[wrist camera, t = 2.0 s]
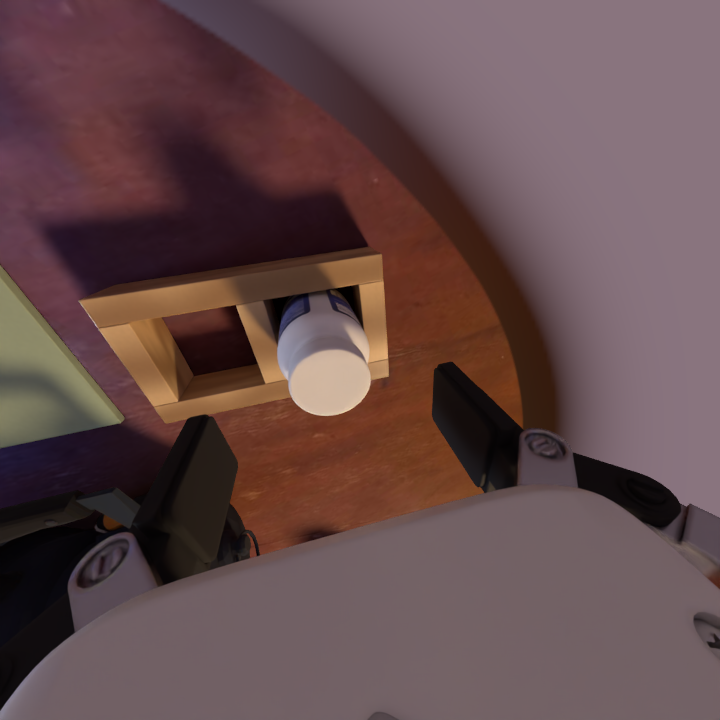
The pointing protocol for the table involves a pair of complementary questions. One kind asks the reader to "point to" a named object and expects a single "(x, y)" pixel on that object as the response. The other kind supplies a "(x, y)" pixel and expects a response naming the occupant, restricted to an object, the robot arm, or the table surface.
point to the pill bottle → (323, 353)
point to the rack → (256, 309)
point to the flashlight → (72, 548)
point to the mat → (42, 378)
